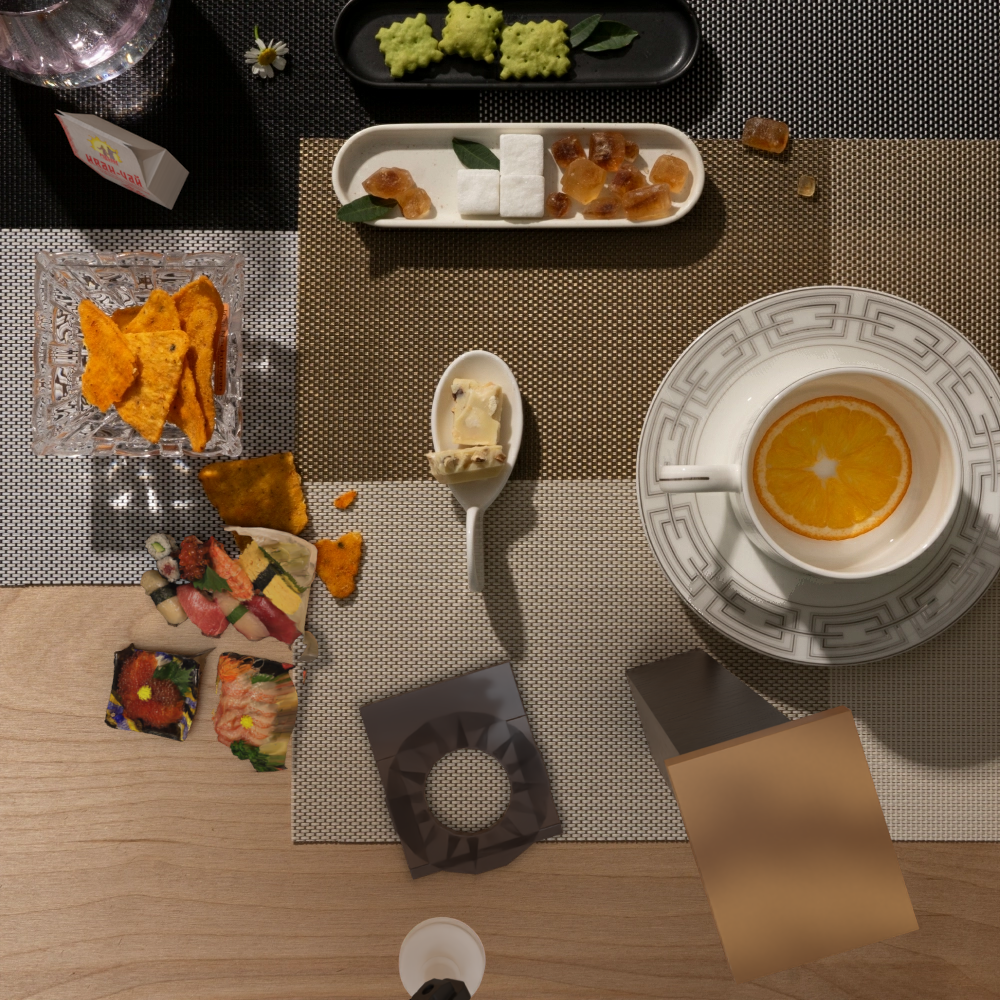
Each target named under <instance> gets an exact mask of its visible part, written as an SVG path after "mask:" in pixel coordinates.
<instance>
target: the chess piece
mask: <svg viewBox="0 0 1000 1000" xmlns="http://www.w3.org/2000/svg"><path fill="white" fill-rule="evenodd" d="M398 953H399V954H398V971H399V977H400V980H401V983H402V986H403V987H404V989H405V990H406V992H407V993H408V995H409V996H411V997H412V996H413V995H414V994H415V993H416V992H417V991H418V989H419V988H420V987H421V986H422V985H423V984H424V983H425V982H427V981H429V980H431V979H433V978H436V979H441V980H443V979H445V978H450V979H455V980H460V981H463V982H464V983H465V985H466V987H467V989H468V991H469V993H470V995H471V998H473V996H474V995H475V993H476V992H477V991H478V990H479V987H480V985H481V983H482V980H483V977H484V974H485V971H486V965H487V964H486V963H487V960H486V959H487V958H486V957H487V956H486V951H485V947H484V945H483V942H482V940H481V938H480V937H479V935H478V933H476V931H475V930H474V929H473V928H472V927H471V926H469V925H468V924H467V923H465V922H464V921H462V920H459V919H457V918H454V917H449V916H435V917H430V918H427V919H425V920H422V921H421V922H419V923H418V924H416V925H415V926H413V928H412V929H410V931H409V932H407V934H406V936H405V937H404V939H403V941H402V942H401V946H400V949H399V952H398Z"/></svg>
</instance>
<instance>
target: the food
mask: <svg viewBox="0 0 1000 1000" xmlns="http://www.w3.org/2000/svg"><path fill="white" fill-rule="evenodd" d="M217 526H218V527H220V528H223V530H224V531H227V532H234V531H235V532H236V533H237V534H238V535H239V536H247V537H248V536H249V537H251V540H252V541H251V542H250V543H251V544H249V543H247V544H246V547H245V548H244V550H243V553H242V554H241V553H240V554H239V555H238V558H235V559H232V558H231V557H230V556H229V555H228V554H227V552H226V551H227V550H225V544H224V543H223V542H220V541H219V540H217V539H216V537H214V536H213V535H210V537H209V539H208V540H206V541H205V540H204V541H201V539H199V538H198V537H197V536H196V535H195V534H192V535H189V536H188V535H187V536H184V537H183V540H181V542H180V544H179V546H178V545H176V543H177V542H176V539H175V538H174V537H173V536H172V535H171V534H166V533H164V532H155V533H152V534H150V535H149V537H147V539H145V540H144V542H145V544H144V548H145V550H147V553H148V554H149V555H150V557H151V558H152V559H153V560H154V561H155V565H156V569H150V570H147V571H144V572H143V573H142V576H141V577H140V581H139V584H140V586H141V587H142V588H143V589H144V590H145V593H144V595H146V596H148V597H150V599H151V600H152V602H153V604H154V606H155V608H156V610H158V613H160V614H161V616H162V617H163V618H164V620H165V621H166V623H167V625H168V626H170V627H174V628H177V627H178V626H179V625H180V624H182V623H184V622H186V621H187V620H188V619H189V620H190V621H191V623H192V624H193V625H195V626H196V627H197V628H198V629H199V630H200V634H201V635H202V636H203V637H206V638H210V639H211V640H212V639H213V640H215V639H218V640H219V639H221V638H222V637H221V636H222V634H223V632H224V631H225V630H227V628H228V626H229V624H231V625H232V626H233V628H235V630H236V632H238V633H240V634H241V635H243V637H245V639H246V640H247V641H248V642H260V641H263V640H264V639H267V638H275V639H276V640H277V641H278V642H280V643H281V642H282V643H284V644H286V645H287V646H288V649H289V651H290V652H291V651H292V645H293V644H294V643H295V641H296V640H297V639H298V638H299V637H300V636H301V635H303V637H302V645H306V647H305V649H304V650H303V653H302V654H301V655H300V656H299V658H298V659H297V660H296V662H302V663H303V662H305V663H306V664H309V663H312V662H314V661H316V660H317V658H318V656H319V643H318V640H317V638H316V637H315V636H314V635H313V633H312V632H311V631H310V630H305V626H306V625H305V624H306V618H307V613H308V606H309V599H310V593H311V587H312V586H311V585H312V583H313V582H314V581H315V577H316V569H317V561H318V549H317V547H316V545H315V544H313V543H311V542H310V541H307V540H305V539H304V538H302V537H300V536H297V535H295V534H292V533H290V532H287V531H283V530H278V529H273V528H267V527H241V526H239V525H226V524H225V525H224V524H217ZM181 580H183V581H186V582H187V583H183V584H177V582H178V581H181ZM261 592H262V594H263V595H260V593H261ZM133 644H134V643H133V642H131V643H130V644H129V645H128V646H127V647H125V648H123V649H121V650H116V651H114V652H113V654H114V657H113V661H112V662H113V676H112V682H111V689H110V694H109V698H108V702H107V707H106V709H105V718H104V721H103V722H104V723H105V725H106V726H107V727H109V728H111V729H114V730H120V731H129V732H136V733H144V734H148V735H153V736H157V737H161V738H165V739H168V740H169V739H170V740H174V741H178V742H181V743H182V742H183V743H184V742H185V741H186V739H187V738H188V734H189V732H190V730H191V728H192V725H193V721H194V718H195V717H196V712H197V710H198V708H197V704H198V697H199V687H200V683H201V676H202V675H203V674H204V668H205V666H206V665H205V664H207V663H206V662H207V658H208V656H209V655H211V653H212V652H213V651H214V650H216V647H213V648H211V649H207V650H204V651H201V652H198V653H195V654H191V655H190V654H180V653H179V654H178V653H169V652H164V651H151V650H150V651H149V650H148V651H147V650H143V649H136V648H135V646H134V645H133ZM296 668H297V665H296V664H293V663H288V662H283V661H282V662H281V661H277V660H273V659H269V658H266V657H259V656H258V657H257V656H253V655H247V654H240V653H238V652H234V651H224V652H221V654H219V658H218V662H217V665H216V676H215V686H214V687H215V688H216V689H215V695H217V694H218V689H219V685H220V682H221V686H220V694H219V698H218V701H219V702H218V704H217V706H216V711H215V708H212V711H211V712H210V714H211V715H212V716H211V717H210V718H211V721H212V722H213V730H214V732H215V733H216V734H217V742H219V743H220V744H223V745H225V746H226V747H228V748H229V749H230V751H231V753H232V755H233V756H234V757H237V759H238V760H240V761H245V760H246V761H247V760H249V763H250V764H251V765H252V768H253V769H254V770H256V773H272V772H280V771H285V770H288V769H289V768H288V767H287V766H286V759H287V754H288V753H287V752H288V744H289V742H290V739H291V737H292V734H293V732H294V729H295V726H296V722H297V715H298V712H299V711H298V709H299V697H298V692H297V689H296V686H295V683H294V682H293V679H292V677H291V674H290V670H294V669H296ZM302 675H303V676H302V679H303V680H302V686H304V685H305V683H306V680H307V676H308V669H307V668H306V667H305V666H303V671H302ZM112 714H114V716H112Z"/></svg>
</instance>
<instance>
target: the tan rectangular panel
mask: <svg viewBox="0 0 1000 1000" xmlns="http://www.w3.org/2000/svg"><path fill="white" fill-rule="evenodd" d="M664 763H665V766H666V769H667V773H668V776H669V779H670V782H671V785H672V789H673V792H674V795H675V798H676V800H675V802H676V801H677V802H676V804H677V808H678V811H679V813H680V817H681V820H682V823H683V827H684V830H685V833H686V837H687V840H688V844H689V846H690V849H691V852H692V855H693V859H694V861H695V865H696V868H697V871H698V874H699V878H700V881H701V884H702V887H703V890H704V891H703V892H704V894H705V897H706V900H707V904H708V907H709V909H710V913H711V916H712V919H713V923H714V926H715V928H716V929H715V930H716V932H717V936H718V938H719V942H720V944H721V948H722V951H723V954H724V957H725V960H726V964H727V967H728V970H729V973H730V976H731V978H732V981H733V982H734V984H735V985H736V986H738V985H741V984H744V983H747V982H751V981H755V980H758V979H761V978H764V977H767V976H771V975H774V974H778V973H780V972H784V971H788V970H790V969H793V968H798V967H800V966H804V965H807V964H810V963H814V962H817V961H819V960H820V961H821V960H823V959H827V958H830V957H833V956H837V955H840V954H843V953H846V952H850V951H853V950H857V949H860V948H863V947H867V946H869V945H870V946H871V945H872V944H876V943H879V942H882V941H885V940H889V939H892V938H895V937H898V936H903V935H906V934H909V933H912V932H915V931H919V930H920V926H919V923H918V920H917V917H916V914H915V910H914V907H913V904H912V901H911V897H910V894H909V891H908V888H907V885H906V882H905V878H904V875H903V872H902V869H901V865H900V862H899V859H898V855H897V852H896V850H895V846H894V843H893V840H892V837H891V833H890V830H889V828H888V824H887V821H886V818H885V814H884V811H883V808H882V805H881V801H880V799H879V795H878V792H877V788H876V785H875V782H874V779H873V776H872V772H871V770H870V766H869V763H868V760H867V757H866V754H865V750H864V747H863V744H862V741H861V738H860V734H859V731H858V728H857V725H856V722H855V719H854V716H853V712H852V709H850V708H848V707H846V705H844V704H842V705H839V706H835V707H831V708H829V709H825V710H822V711H819V712H816V713H812V714H810V715H809V714H808V715H806V716H802V717H799V718H796V719H793V720H791V721H790V722H786V723H783V724H780V725H777V726H773V727H770V728H767V729H764V730H760V731H757V732H754V733H751V734H747V735H744V736H741V737H738V738H734V739H731V740H728V741H725V742H721V743H718V744H715V745H712V746H708V747H705V748H702V749H699V750H695V751H692V752H689V753H686V754H682V755H679V756H676V757H673V758H669V759H666V760H664ZM675 798H674V799H675Z"/></svg>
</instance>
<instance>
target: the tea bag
mask: <svg viewBox="0 0 1000 1000" xmlns="http://www.w3.org/2000/svg"><path fill="white" fill-rule="evenodd" d="M55 109H56V108H55ZM56 111H57V112H59V113H60V114H58V113H54V114H53V115H55V117H56V118H57V120H58V121H59V124H61V125H60V126H61V127H62V128H63V130H64V133H65V136H66V137H67V140H68V142H69V145H70V147H71V149H72V152H73V154H74V156H76V157H77V158H78V159H79V160H81V161H82V162H83V163H85V164H86V165H87V166H88V167H89V168H90V169H92V170H93V171H95V172H96V174H98V175H100V176H101V177H102V178H104V179H106V180H108V181H110V182H112V183H115V184H117V185H118V186H121V187H123V188H125V189H127V190H128V191H131V192H133V193H135V194H137V195H138V196H139V195H140V196H142V197H144V198H145V199H148V200H149V201H152V202H154V203H156V204H158V205H161V206H163V207H165V208H166V209H169V210H172V209H174V205H175V203H176V201H177V200H178V197H179V195H180V192H181V190H182V189H183V186H184V184H185V182H186V181H187V178H188V176H189V174H190V172H189V171H188V169H186V167H184V166H183V165H182V164H181V163H180V162H179V160H178V159H177V158H176V157H175V156H174V155H172V154H171V153H170V152H169V151H168V150H167V149H166V148H165V147H162V146H161V145H158V144H156V143H154V142H152V141H150V140H148V139H145V138H143V137H142V136H139V135H137V134H136V133H134V132H131V131H129V130H126V129H125V128H122V127H120V126H118V125H117V124H114V123H112V122H110V121H108V120H105V118H101V117H99V116H97V115H95V114H88V113H87V114H86V113H71V112H65V111H61V110H59V109H56Z"/></svg>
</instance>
